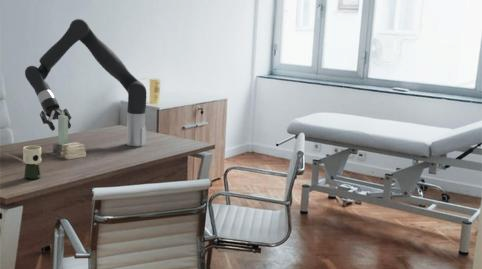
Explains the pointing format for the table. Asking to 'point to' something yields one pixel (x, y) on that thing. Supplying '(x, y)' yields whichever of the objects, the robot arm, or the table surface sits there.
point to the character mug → (32, 161)
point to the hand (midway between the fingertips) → (61, 128)
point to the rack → (68, 151)
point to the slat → (62, 129)
